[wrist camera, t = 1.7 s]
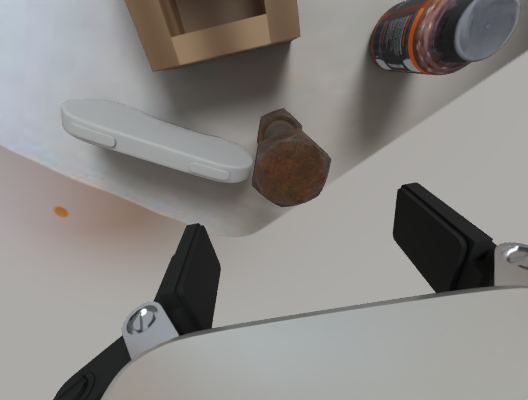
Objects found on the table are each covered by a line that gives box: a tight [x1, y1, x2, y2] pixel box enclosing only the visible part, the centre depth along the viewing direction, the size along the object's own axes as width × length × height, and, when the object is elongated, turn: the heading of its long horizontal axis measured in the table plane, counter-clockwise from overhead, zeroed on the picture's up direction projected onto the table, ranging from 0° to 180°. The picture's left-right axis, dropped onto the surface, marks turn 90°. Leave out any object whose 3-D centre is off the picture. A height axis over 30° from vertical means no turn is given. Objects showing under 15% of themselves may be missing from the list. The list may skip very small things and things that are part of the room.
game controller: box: [61, 99, 253, 183], centre depth 26 cm, size 20×2×8 cm, turn 70°
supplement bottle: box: [370, 0, 520, 75], centre depth 20 cm, size 6×6×11 cm
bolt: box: [252, 108, 331, 207], centre depth 23 cm, size 6×5×15 cm
